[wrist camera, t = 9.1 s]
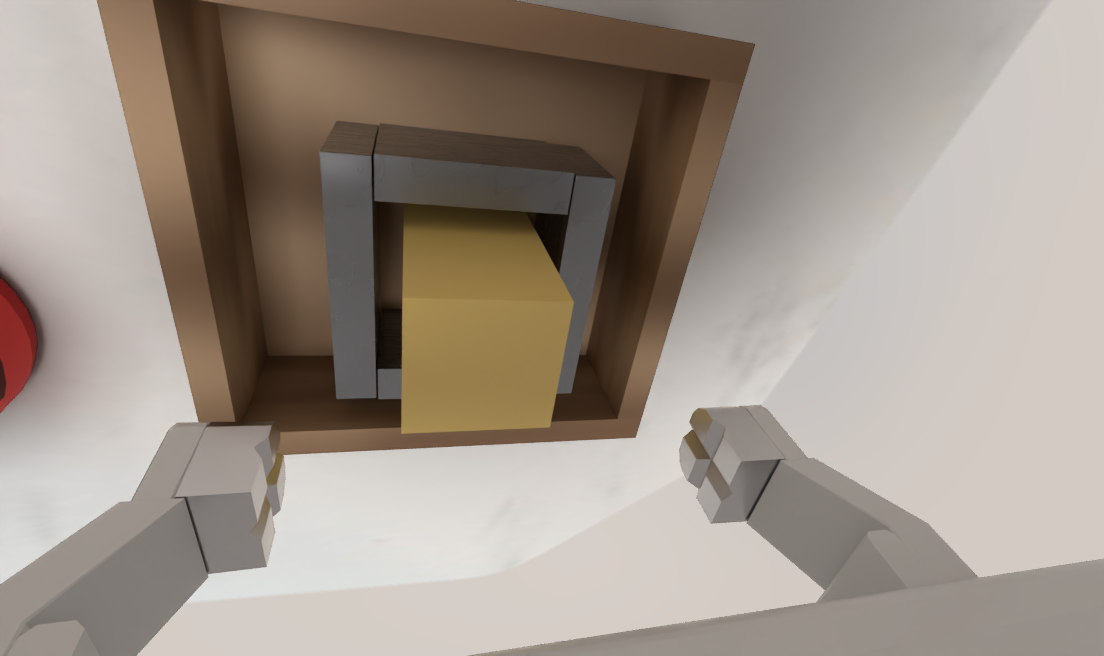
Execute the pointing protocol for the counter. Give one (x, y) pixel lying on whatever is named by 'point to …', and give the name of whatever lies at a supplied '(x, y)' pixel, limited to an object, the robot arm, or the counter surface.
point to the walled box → (409, 100)
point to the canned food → (14, 344)
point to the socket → (459, 181)
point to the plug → (479, 321)
